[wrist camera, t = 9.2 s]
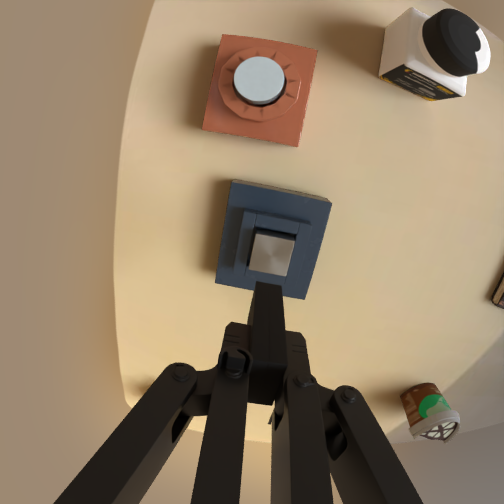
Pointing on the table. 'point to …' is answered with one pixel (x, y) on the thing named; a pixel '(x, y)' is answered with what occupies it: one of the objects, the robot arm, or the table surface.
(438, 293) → the table surface
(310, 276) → the push button base
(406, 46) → the medicine bottle
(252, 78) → the white round push button
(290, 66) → the orange button base
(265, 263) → the pump square
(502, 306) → the hardcover book
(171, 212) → the table surface
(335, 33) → the table surface
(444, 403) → the food container
